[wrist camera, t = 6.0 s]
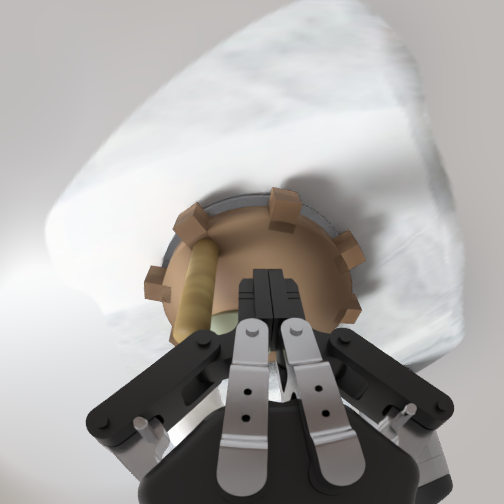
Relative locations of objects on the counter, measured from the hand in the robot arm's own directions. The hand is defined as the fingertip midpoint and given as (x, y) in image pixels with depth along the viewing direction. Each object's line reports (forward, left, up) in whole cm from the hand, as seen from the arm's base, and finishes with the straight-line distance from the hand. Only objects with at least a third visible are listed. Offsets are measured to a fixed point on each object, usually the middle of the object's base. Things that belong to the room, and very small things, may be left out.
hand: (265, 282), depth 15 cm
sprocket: (-2, +4, -6) cm, 8 cm away
